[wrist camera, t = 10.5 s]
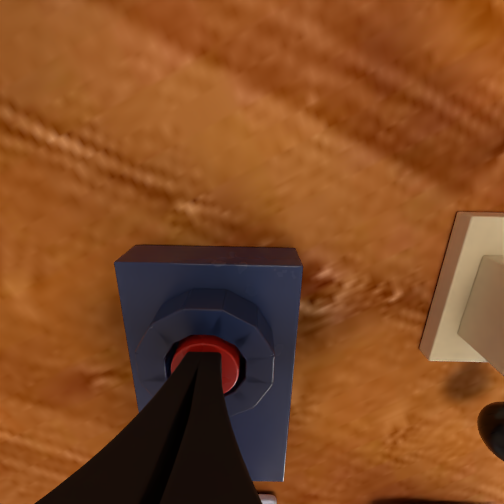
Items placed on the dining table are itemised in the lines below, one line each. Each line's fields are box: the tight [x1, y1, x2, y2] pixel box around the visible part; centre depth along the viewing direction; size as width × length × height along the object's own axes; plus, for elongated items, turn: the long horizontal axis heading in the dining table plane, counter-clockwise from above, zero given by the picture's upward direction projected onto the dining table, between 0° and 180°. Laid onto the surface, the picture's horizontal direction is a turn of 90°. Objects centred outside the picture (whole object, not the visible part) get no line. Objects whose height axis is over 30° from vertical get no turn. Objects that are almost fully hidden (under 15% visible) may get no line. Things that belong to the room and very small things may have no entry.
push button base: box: [114, 245, 303, 482], centre depth 14 cm, size 14×8×4 cm, turn 179°
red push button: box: [171, 335, 240, 393], centre depth 12 cm, size 3×3×2 cm
